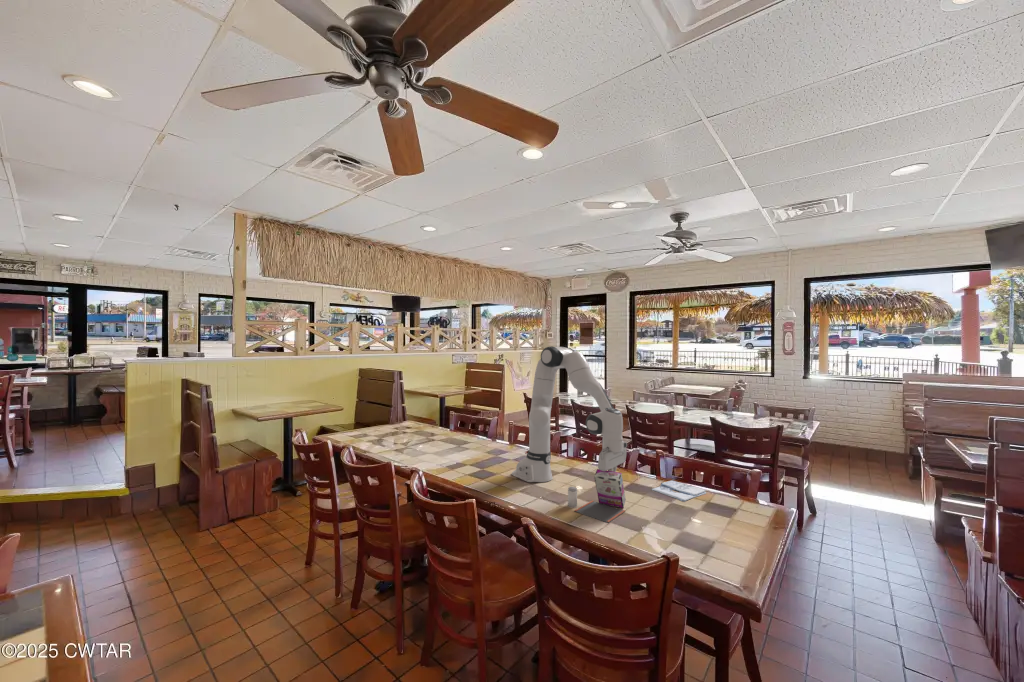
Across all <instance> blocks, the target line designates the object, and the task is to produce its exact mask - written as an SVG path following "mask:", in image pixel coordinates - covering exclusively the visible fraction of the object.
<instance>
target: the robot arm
mask: <svg viewBox="0 0 1024 682" xmlns="http://www.w3.org/2000/svg"><path fill="white" fill-rule="evenodd" d="M559 369H561V370H566V372H567V375H568V378H569V381H570V384H571V386H572V387H573V388H574V389H575V390H577V391H579V392H583V393H586V394H588V395H589V396H591V397H592V398H593V399H594V400H595V402H596V404H597V405H598V408H599V410H600V411H599V412H595V413H591V414H588V416H587V417H586V418H585V419H586V420H585V428H586V431H588V433H590V434H591V435H602V449H601V451H600V452H599V455H598V459H597V460H598V461H597V469H599V470H602V471H612V472H617V468H618V466H619V465H621V464H624V463H626V459H627V447H628V442H627V441H624V438H623V431H624V419H623V413H622V411H620V410H619V409H618V408H614V406H613V404H612V403H611V400H610V398H609V397H608V395H607V393H606V391H605V389H604V387H603V386H602V384H601V383H600V382H599V380H597V379H596V377H595V376H594V374H593V373H592V370H591V368H590V366H589V363H588V361H587V359H586V357H585V356H584V355H583V353H582V352H580V351H577V350H574V349H572V348H570V347H564V346H547V347H545V348H543V349H542V351H541V352H540V359H539V360H538V362H537V364H536V368H535V373H534V377H533V378H534V379H533V384H532V385H533V386H532V393H531V394H532V395H531V404H530V411H529V414H528V415H529V416H528V432H529V436H528V438H529V440H528V441H529V443H528V450H526V451H525V452H524V454H526V456H525V457H524V458H522V459H520V461H518V462H517V463H516V466H515V467H516V468H515V470H513V471H512V472H511V475H512V476H514V477H515V478H518V479H520V480H522V481H525V482H527V483H545V482H550V481H552V480H553V478H554V477H553V474H552V469H551V468H552V467H551V459H552V458H551V455H552V454H551V414H552V412H551V411H552V405H553V400H554V392H555V384H556V375H557V373H558V372H557V371H558V370H559Z"/></svg>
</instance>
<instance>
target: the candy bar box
mask: <svg viewBox="0 0 1024 682" xmlns="http://www.w3.org/2000/svg"><path fill="white" fill-rule="evenodd" d="M593 479H594V482H595V487H596V493H597V499H598V503H601V504H604V505H608V506H611V507H615V508H620V509H624V507H625V504H626V500H627V499H626V494H625V487H624V480H623V473H622V472H618V471H616V472H612V471H608V470H607V471H602V470H599V469H598V468H597V469H596V470H595V474H594V478H593Z"/></svg>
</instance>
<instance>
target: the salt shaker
mask: <svg viewBox="0 0 1024 682" xmlns="http://www.w3.org/2000/svg"><path fill="white" fill-rule="evenodd" d="M567 507H568V508H571V509H574V508H577V507H578V489H577V487H575V486H569V487H568V489H567Z"/></svg>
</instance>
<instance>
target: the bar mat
mask: <svg viewBox="0 0 1024 682" xmlns="http://www.w3.org/2000/svg"><path fill="white" fill-rule="evenodd" d="M625 512H626V510H625V509H622V508H618V507H615V506H611V505H606V504H601V503H599V501H598V502H597V501H595V500H591V501H588V502H586V503H585V504H583V505H582V506H579V507H578V508H576V509H575V510H574V513H577V514H581V515H584V516H586V517H589V518H593V519H595V520H599V521H601V522H605V523H607V524H609V523H611V522H612V521H614V520H615V519H617V518H618V517H620V516H622V515H623V514H624V513H625Z"/></svg>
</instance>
